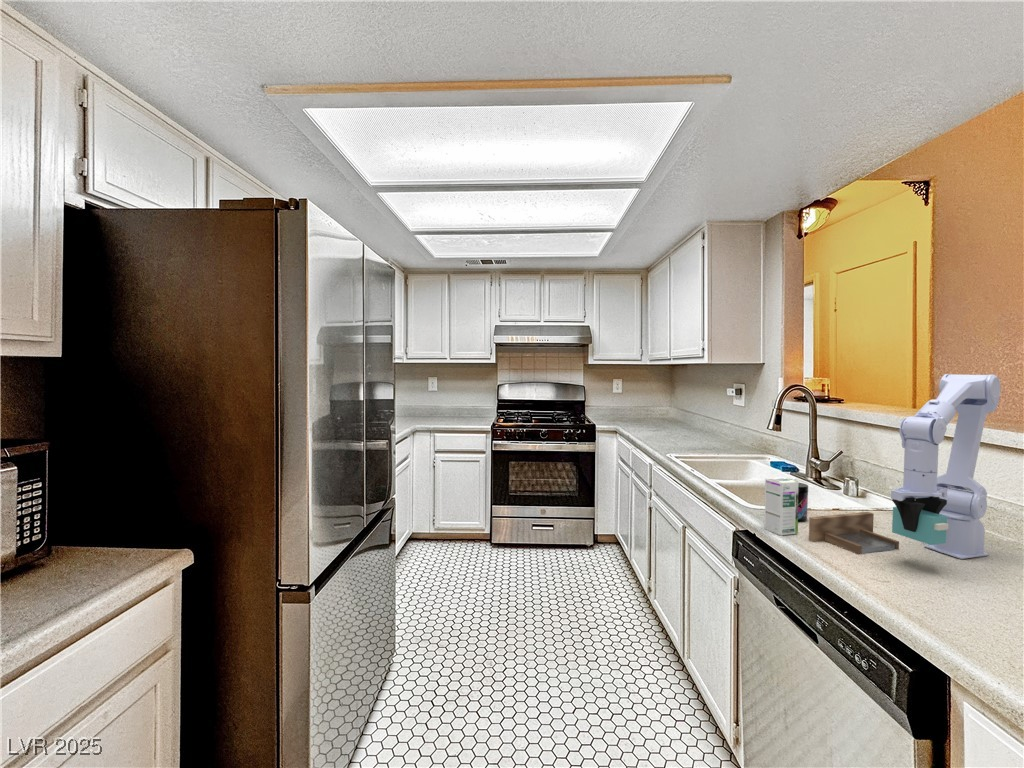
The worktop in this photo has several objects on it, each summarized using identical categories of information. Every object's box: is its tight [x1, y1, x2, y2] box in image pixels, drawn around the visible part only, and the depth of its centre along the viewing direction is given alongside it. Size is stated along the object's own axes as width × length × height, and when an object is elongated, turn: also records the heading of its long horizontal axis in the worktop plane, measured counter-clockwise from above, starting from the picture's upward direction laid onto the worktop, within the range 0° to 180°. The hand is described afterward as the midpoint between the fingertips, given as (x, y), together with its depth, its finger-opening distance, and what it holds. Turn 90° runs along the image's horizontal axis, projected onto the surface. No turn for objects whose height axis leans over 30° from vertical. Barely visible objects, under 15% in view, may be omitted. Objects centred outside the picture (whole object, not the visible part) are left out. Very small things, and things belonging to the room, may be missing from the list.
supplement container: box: [798, 481, 809, 523], centre depth 138 cm, size 7×7×10 cm
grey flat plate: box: [835, 533, 895, 554], centre depth 118 cm, size 11×9×1 cm
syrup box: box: [764, 477, 799, 537], centre depth 127 cm, size 6×6×14 cm
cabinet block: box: [891, 506, 948, 545], centre depth 105 cm, size 4×9×6 cm, turn 15°
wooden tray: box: [808, 511, 900, 555], centre depth 118 cm, size 20×10×6 cm, turn 105°
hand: (918, 529), depth 105 cm, fingers closed on cabinet block, 4 cm apart
